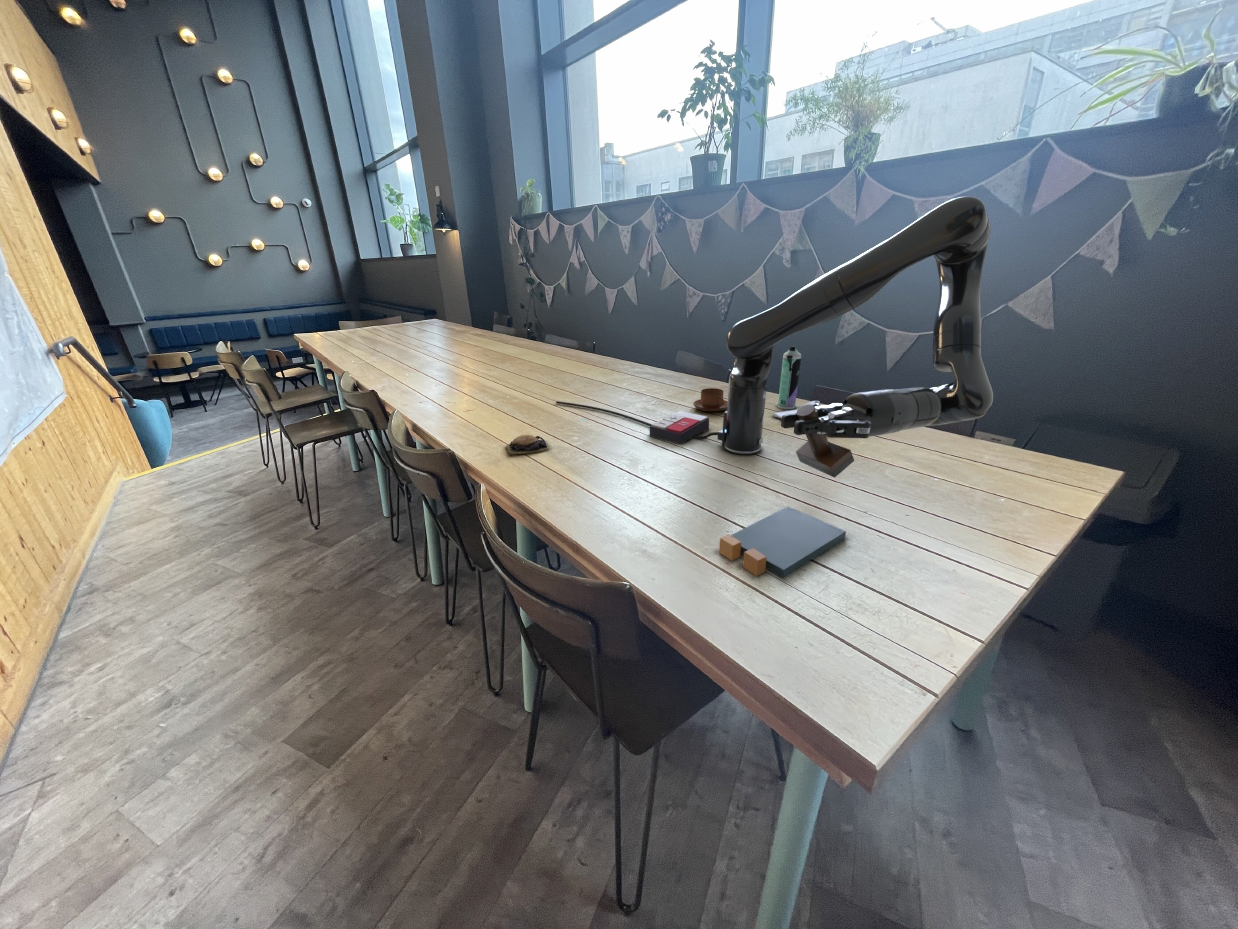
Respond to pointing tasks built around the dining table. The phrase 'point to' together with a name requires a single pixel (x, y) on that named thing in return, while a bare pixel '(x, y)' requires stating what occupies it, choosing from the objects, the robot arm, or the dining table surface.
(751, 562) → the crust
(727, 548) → the brown wooden block
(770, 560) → the tray
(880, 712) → the dining table surface
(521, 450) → the brown domed lump
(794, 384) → the spray can
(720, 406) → the cup and saucer
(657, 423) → the red-topped box
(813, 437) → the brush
